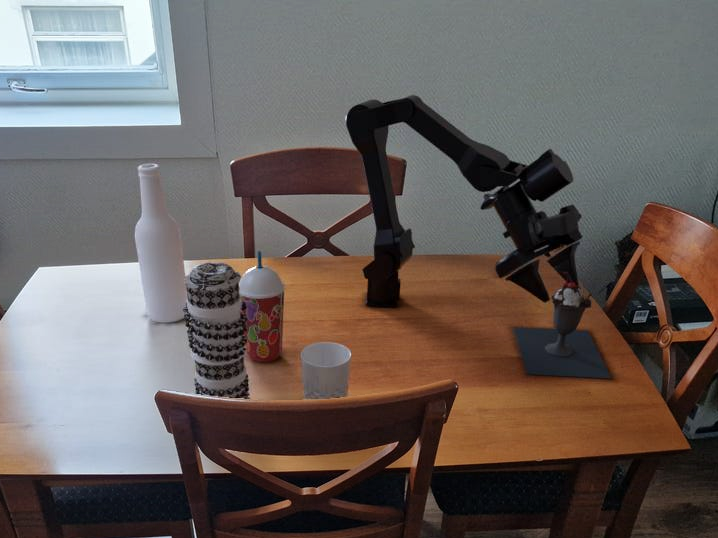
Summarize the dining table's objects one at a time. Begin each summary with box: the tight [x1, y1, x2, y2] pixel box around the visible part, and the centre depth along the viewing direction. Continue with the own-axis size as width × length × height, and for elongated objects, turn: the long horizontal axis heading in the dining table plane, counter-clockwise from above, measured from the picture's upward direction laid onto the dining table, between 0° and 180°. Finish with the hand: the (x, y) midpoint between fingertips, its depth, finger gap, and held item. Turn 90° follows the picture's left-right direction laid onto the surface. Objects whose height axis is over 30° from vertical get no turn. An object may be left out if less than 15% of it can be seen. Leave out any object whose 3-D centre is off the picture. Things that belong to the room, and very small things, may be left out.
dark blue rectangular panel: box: [512, 326, 613, 380], centre depth 120 cm, size 14×18×1 cm
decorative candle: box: [183, 261, 251, 400], centre depth 99 cm, size 9×9×25 cm
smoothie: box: [239, 250, 286, 363], centre depth 116 cm, size 8×8×20 cm
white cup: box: [300, 341, 352, 400], centre depth 104 cm, size 8×8×10 cm
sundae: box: [545, 272, 592, 357], centre depth 116 cm, size 7×7×15 cm
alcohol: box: [134, 163, 188, 324], centre depth 128 cm, size 9×9×30 cm
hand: (562, 293), depth 115 cm, fingers open, 9 cm apart
